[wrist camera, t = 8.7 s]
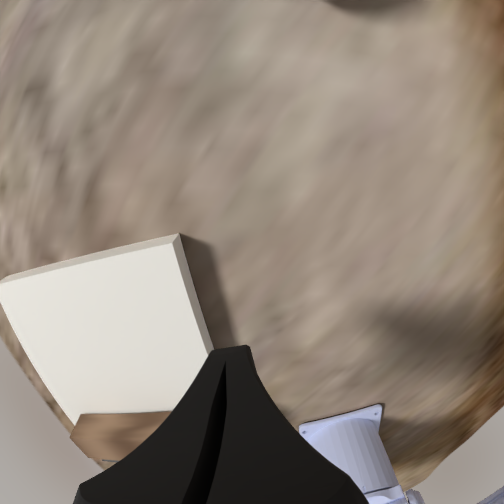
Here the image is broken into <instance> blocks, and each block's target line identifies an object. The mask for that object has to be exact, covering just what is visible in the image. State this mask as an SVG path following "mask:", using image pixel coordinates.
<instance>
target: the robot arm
mask: <svg viewBox="0 0 504 504" xmlns="http://www.w3.org/2000/svg"><path fill="white" fill-rule="evenodd" d="M381 413H382V406H381V405H380V404H378V405H374V406H371V407H367V408H364V409H361V410H357V411H354V412H350V413H346V414H342V415H339V416H335V417H331V418H327V419H322V420H318V421H313V422H309V423H304V424H301V425H300V426H299V432H300V434H299V433H298V432H297V431H296V430H295V429H294V427H293V426H292V425H291V424H290V423H289V422H288V420H287V419H286V418H285V417H284V416H283V414H282V413H281V412H280V410H279V409H278V408H277V406H276V405H275V403H274V402H273V400H272V399H271V397H270V396H269V394H268V393H267V391H266V389H265V388H264V386H263V384H262V382H261V380H260V378H259V376H258V374H257V372H256V368H255V364H254V360H253V357H252V353H251V349H250V347H249V346H247V345H242V346H236V347H230V348H223V349H217V350H212V351H211V352H210V353H209V355H208V357H207V358H206V360H205V362H204V364H203V366H202V367H201V369H200V371H199V372H198V374H197V376H196V377H195V379H194V381H193V382H192V384H191V385H190V387H189V388H188V390H187V391H186V393H185V394H184V396H183V397H182V398H181V400H180V401H179V403H178V404H177V405H176V407H175V408H174V409H173V411H172V412H171V413H170V414H169V416H168V417H167V418H166V419H165V420H164V421H163V423H162V424H161V425H160V426H159V427H158V428H157V429H156V430H155V431H154V432H153V433H152V434H151V435H150V436H149V437H148V438H147V439H146V440H145V441H143V442H142V443H141V444H140V445H139V446H138V447H137V448H136V449H134V450H133V451H132V452H131V453H129V454H128V455H127V456H126V457H124V458H123V459H122V460H120V461H119V462H117V463H116V464H114V465H113V466H111V467H110V468H108V469H107V470H105V471H103V472H102V473H100V474H98V475H96V476H95V477H93V478H91V479H89V480H87V481H85V482H83V483H81V484H80V485H79V488H78V490H77V493H76V496H75V500H74V502H73V504H408V503H409V504H425V503H424V500H423V498H422V496H421V494H420V492H418V491H415V490H414V491H413V490H412V489H409V490H408V491H406V495H407V498H408V503H407V501H406V498H405V496H404V493H403V490H402V488H401V485H399V483H398V480H397V478H396V475H395V473H394V470H393V468H392V465H391V463H390V460H389V458H388V455H387V453H386V451H385V448H384V446H383V443H382V441H381V439H380V436H379V434H378V432H379V426H380V420H381ZM477 504H504V486H503V487H502V488H500V489H499V490H497V491H496V492H494V493H493V494H491V495H490V496H488V497H487V498H485V499H484V500H482V501H481V502H479V503H477Z"/></svg>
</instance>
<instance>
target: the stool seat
mask: <svg viewBox="0 0 504 504" xmlns="http://www.w3.org/2000/svg"><path fill="white" fill-rule="evenodd" d="M0 302H1V304H2V307H3V309H4V311H5V313H6V315H7V317H8V319H9V322H10V324H11V326H12V328H13V330H14V332H15V334H16V335H17V337H18V339H19V341H20V343H21V345H22V347H23V349H24V350H25V352H26V354H27V356H28V357H29V359H30V361H31V362H32V364H33V366H34V367H35V369H36V371H37V372H38V374H39V376H40V377H41V379H42V380H43V382H44V383H45V385H46V386H47V388H48V389H49V391H50V392H51V394H52V395H53V397H54V398H55V400H56V401H57V403H58V404H59V405H60V407H61V408H62V409H63V411H64V412H65V414H66V415H67V416H68V417H69V419H70V420H71V421H72V423H73V424H74V425H76V423H77V421H78V419H79V416H80V414H137V413H155V412H169V411H173V409H174V408H175V407H176V405H177V404H178V403H179V401H180V400H181V398H182V397H183V396H184V394H185V393H186V391H187V390H188V388H189V387H190V385H191V384H192V382H193V381H194V379H195V377H196V376H197V374H198V372H199V371H200V369H201V367H202V366H203V364H204V362H205V360H206V358H207V357H208V355H209V353H210V352H211V351H212V350H214V348H213V345H212V342H211V339H210V336H209V333H208V329H207V326H206V323H205V320H204V317H203V314H202V311H201V307H200V304H199V301H198V298H197V294H196V291H195V288H194V284H193V281H192V278H191V274H190V271H189V267H188V264H187V260H186V257H185V253H184V249H183V246H182V242H181V238H180V235H179V233H178V234H173V235H169V236H164V237H160V238H155V239H151V240H147V241H142V242H138V243H134V244H129V245H125V246H121V247H117V248H113V249H108V250H104V251H100V252H96V253H92V254H88V255H84V256H80V257H76V258H72V259H68V260H64V261H61V262H57V263H53V264H49V265H45V266H42V267H38V268H34V269H30V270H27V271H23V272H19V273H16V274H12V275H9V276H6V277H5V278H4V279H2V280H1V281H0ZM102 461H110V462H119V461H117V460H105V459H102Z"/></svg>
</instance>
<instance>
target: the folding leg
mask: <svg viewBox="0 0 504 504" xmlns="http://www.w3.org/2000/svg"><path fill="white" fill-rule="evenodd" d="M171 412H172V411H169V412H155V413H137V414H80V416H79V419H78V421H77V423H76V425H75V427H74V429H73V431H72V433H71V435H70V439H71V440H72V441H73V442H74V443H75V444H76V445H77V446H78V447H79V448H80V449H81V450H82V452H83V453H84V454H85V455H86V456H87V457H88V458H95V459H105V460H117V461H120V460H122V459H123V458H124V457H126V456H127V455H128V454H129V453H131V452H132V451H133V450H134V449H136V448H137V447H138V446H139V445H140V444H141V443H142V442H143V441H145V440H146V439H147V438H148V437H149V436H150V435H151V434H152V433H153V432H154V431H155V430H156V429H157V428H158V427H159V426H160V425H161V424H162V423H163V421H164V420H165V419H166V418H167V417H168V416H169V414H170V413H171Z"/></svg>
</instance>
